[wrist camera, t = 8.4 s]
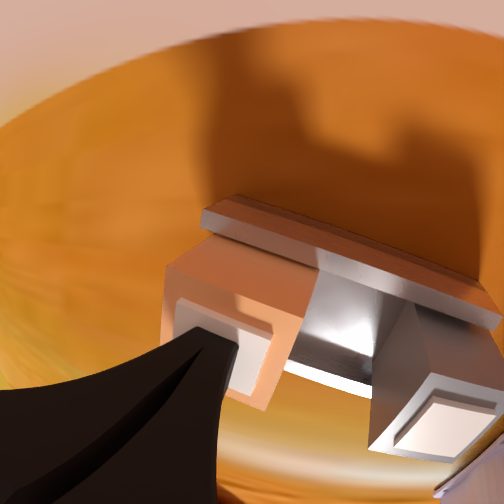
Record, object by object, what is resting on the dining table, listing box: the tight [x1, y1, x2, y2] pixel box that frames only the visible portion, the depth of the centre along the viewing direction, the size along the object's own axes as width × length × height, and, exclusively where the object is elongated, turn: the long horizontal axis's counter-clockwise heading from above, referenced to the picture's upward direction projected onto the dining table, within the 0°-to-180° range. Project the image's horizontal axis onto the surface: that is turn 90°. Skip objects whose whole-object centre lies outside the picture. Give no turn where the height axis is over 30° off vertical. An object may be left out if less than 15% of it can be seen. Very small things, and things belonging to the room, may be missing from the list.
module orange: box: [160, 233, 320, 411], centre depth 11 cm, size 4×4×5 cm
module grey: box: [368, 300, 504, 464], centre depth 10 cm, size 4×4×5 cm
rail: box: [200, 194, 503, 398], centre depth 12 cm, size 6×12×3 cm, turn 76°
